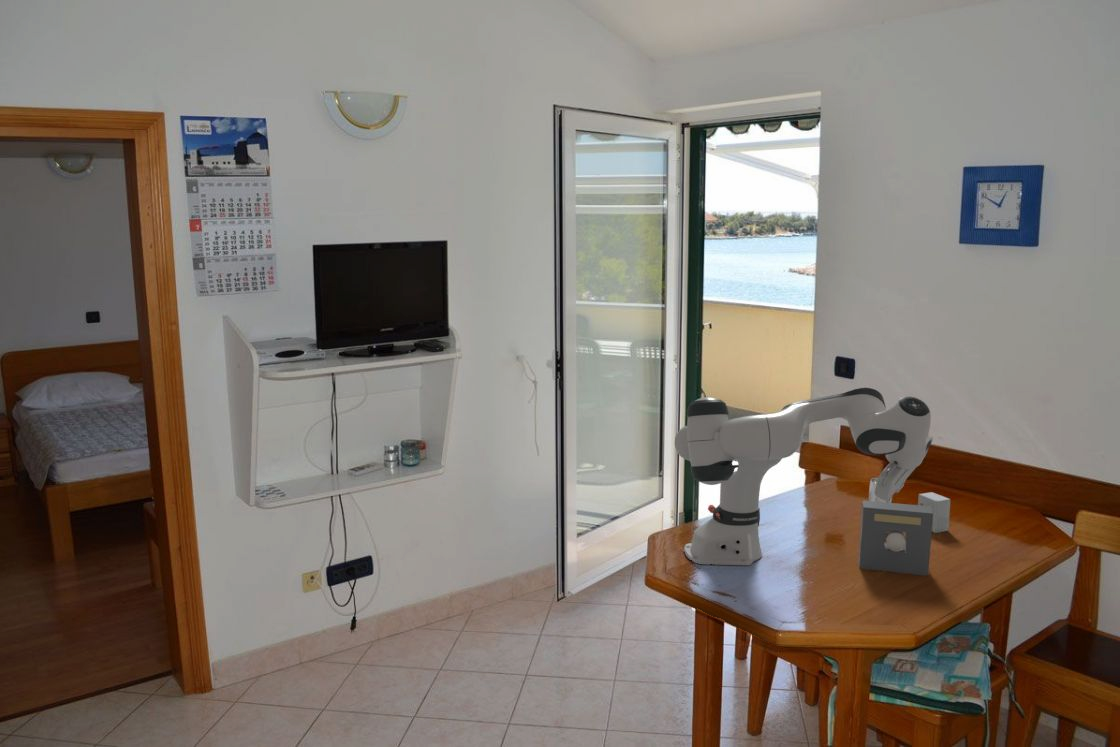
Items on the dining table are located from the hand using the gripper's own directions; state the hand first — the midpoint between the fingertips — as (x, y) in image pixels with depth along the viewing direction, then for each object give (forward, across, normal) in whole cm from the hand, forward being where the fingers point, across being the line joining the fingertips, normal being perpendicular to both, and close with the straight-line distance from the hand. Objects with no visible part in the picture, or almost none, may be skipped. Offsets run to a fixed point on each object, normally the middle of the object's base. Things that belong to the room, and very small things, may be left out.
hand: (897, 488), depth 230 cm
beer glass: (+51, +26, +13) cm, 59 cm away
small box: (+52, +36, 0) cm, 63 cm away
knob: (+28, +5, 0) cm, 29 cm away
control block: (+33, +2, -2) cm, 33 cm away
